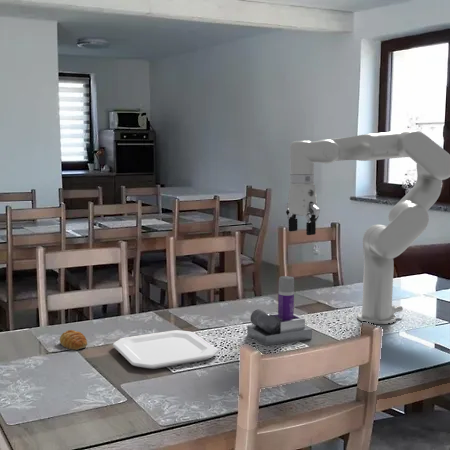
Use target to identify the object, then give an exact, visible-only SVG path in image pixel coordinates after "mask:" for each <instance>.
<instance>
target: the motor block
mask: <svg viewBox="0 0 450 450" xmlns="http://www.w3.org/2000/svg"><path fill="white" fill-rule="evenodd" d="M250 323H251V324H250V325H247V326H246V329H247V330H246V331H247V332H246V335H247V336H248V338H249V337H250V338H251V339H253V340H255V342H258V343H259V344H261V345H263V346H264V347H268V346H275V345H276V346H277V345H282V344H286V343H294V342H299V341H306V340H311V339H313V329H312V327H310V326H307V325H306V318H305V317H302V316H300V315H298V314H296V313H294V319H292V320H285V321H281V320H279V319H278V312H277V313H269V312H266V311H264V310H262V309H256V310H255V309H254V311H252V313H251V314H250Z"/></svg>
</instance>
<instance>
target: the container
mask: <svg viewBox="0 0 450 450" xmlns="http://www.w3.org/2000/svg"><path fill="white" fill-rule="evenodd" d="M277 293H278V297H277V298H278V299H277V301H278V302H277V303H278V305H277V313H278V319H279V320H281V321H285V320H292V319H294V314H295V311H294V309H295V306H294V305H295V277H293V276H288V275H282V276H279V277H278V292H277Z"/></svg>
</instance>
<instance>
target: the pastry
mask: <svg viewBox="0 0 450 450" xmlns="http://www.w3.org/2000/svg"><path fill="white" fill-rule="evenodd" d="M59 343H60V345H61V346H62V347H63V348H66V349H69V350H71V351H72V350H76V351H77V350H81V349H84V348H87V345H88V341H87V339H86V336H85V335H84V334H83V333H81V332H80V331H76V330H73V329H68V330H66V331H64V332H62V334H61V335H60V337H59Z"/></svg>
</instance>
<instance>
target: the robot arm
mask: <svg viewBox="0 0 450 450" xmlns="http://www.w3.org/2000/svg"><path fill="white" fill-rule="evenodd" d="M400 158H410V159H412V161H414V162H415V163H416V175H417V176H416V177H417V178H416V182H415V184H414V185H413V187H411V189H410V190H409V191H408V192H407V193H406V194H405V195H404V196H403V197H402V198H401V199H400V200H399V201H398V202H397V203H396V204H394V206H393V207H392V208H390V210H389V213H388V221H389V224H388V225H384V224H373V225H371V226H369V227H368V228H367V229H366V230H365V232H364V234H363V237H362V251H363V278H362V279H363V280H362V303H361V304H362V306H361V311H360V312H358V313H357V316H356V318H357V320H359V321H361V322H363V321H367V322H369V323H368V324H371V323H372V324H373V323H374V324H373V325H389V324H388V323H390V324H394V323H395V322H397V316H396V315H395V314H396V313H400V312H403V310H404V309H403V306H402V305H398V306H395V305H394V304H393V287H394V286H393V285H394V272H395V271H394V259H395V258H397V257H400V255H401V254H402V253H404V252H405V251H406V250H407V249H408V248H410V246H411V245H412V244H413V243H414V242H415V241H416V240H417V239H418V238H419V237H420V236H421V235H422V234H423V233H424V232H425V230H426V229H427V227H428V224H429V213H428V211H429V210H430V209H431V207H433V205H435V203H436V202H437V200H438V199H439V197H440V195H441V193H442V188H443V181H445V180H447V179H449V178H450V153H449V152H448V151H446V150H445V149H444V148H443V147H442V146H440V145H439V144H437V142H435V141H434V140H432V139H431V138H430V137H429V136H428V135H426V134H425V133H424V132H422V131H421V130H420V131H419V130H417V129H409V130H408V129H407V130H396V131H387V132H377V133H366V134H359V135H355V136H347V137H337V138H329V139H328V138H327V139H318V140H316V141H311V140H294V141H292V142H290V145H289V189H288V202H287V203H286V204H285V205H284V208H285V213H286V215H287V216H286V217H287V219H288V232H298V218H297V217H298V216H302V217H305V219H306V220H307V222H306V226H305V227H306V232H305V233H306V236H312V235H316V233H317V232H316V224H317V221H318V219H319V217H320V216H319V215H320V212H321V209H320V208H319V207H318V196H317V189H316V184H314V182H315V181H314V180H315V179H314V177H315V176H314V174H315V170H314V169H315V164H317V163H318V164H325V165H327V164H328V165H329V164H333V163H334V162H339V161H340V162H341V161H342V162H343V161H361V162H366V161H367V162H368V161H379V160H388V159H400ZM393 322H394V323H393ZM372 324H371V325H372Z"/></svg>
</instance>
